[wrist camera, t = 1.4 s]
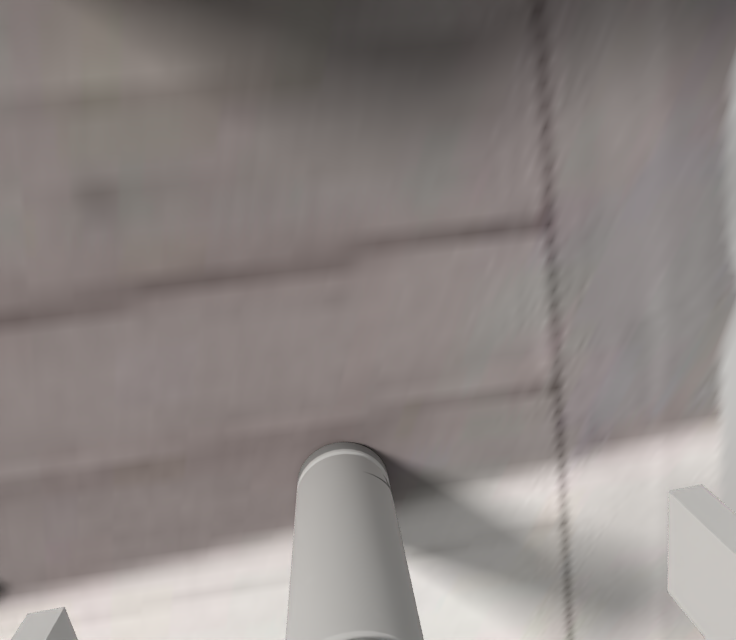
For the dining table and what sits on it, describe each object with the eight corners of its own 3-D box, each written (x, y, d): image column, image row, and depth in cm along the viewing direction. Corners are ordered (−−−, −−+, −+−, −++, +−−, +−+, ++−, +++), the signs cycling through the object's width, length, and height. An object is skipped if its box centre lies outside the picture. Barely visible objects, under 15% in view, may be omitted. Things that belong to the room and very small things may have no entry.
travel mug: (397, 442, 37) (478, 732, 18) (377, 525, 39) (432, 872, 20) (307, 429, 36) (290, 718, 17) (290, 514, 38) (259, 865, 19)
